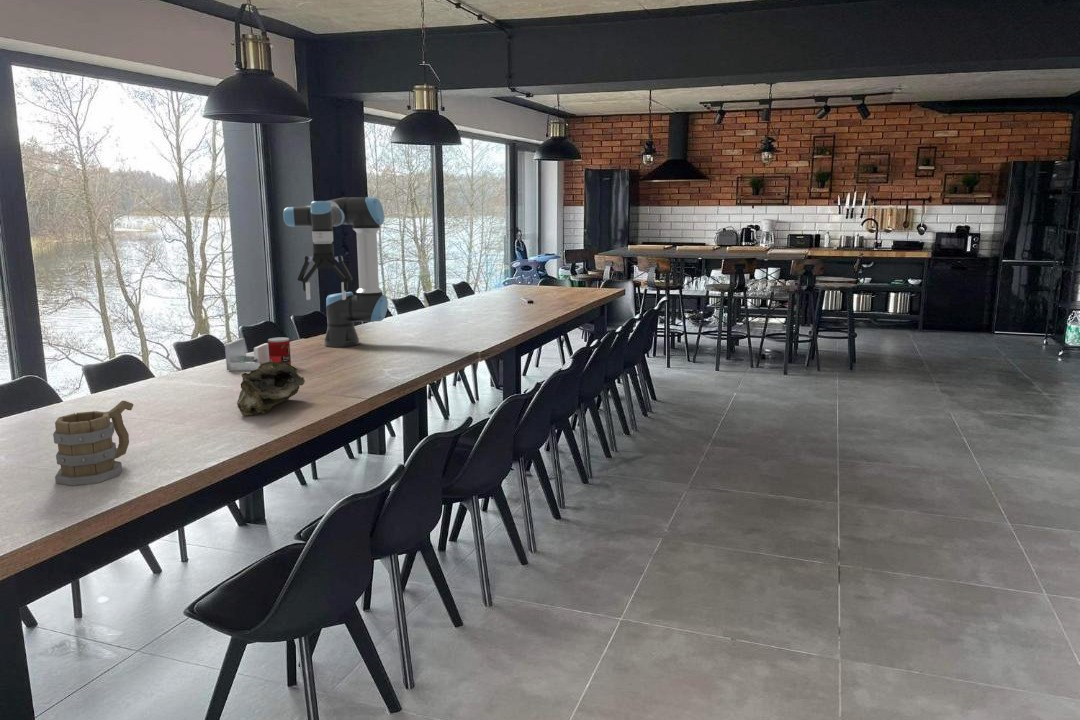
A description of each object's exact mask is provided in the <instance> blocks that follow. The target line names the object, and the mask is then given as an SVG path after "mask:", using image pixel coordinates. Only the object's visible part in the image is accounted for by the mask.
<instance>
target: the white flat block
mask: <svg viewBox="0 0 1080 720" xmlns="http://www.w3.org/2000/svg"><path fill="white" fill-rule="evenodd" d="M253 356H254V359H255V360H253V362H256V361H257V362H262V364H263V363H266V362H270V361H269V349H268V342H266V343H262V344H260V345H258V346H255V347H253Z"/></svg>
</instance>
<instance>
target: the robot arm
mask: <svg viewBox="0 0 1080 720" xmlns="http://www.w3.org/2000/svg"><path fill="white" fill-rule="evenodd" d="M282 213H283V214H282V215H283V216H282V217H283V222H284V224H285V225H286V226H287V227H292V228H293V227H294V228H296V227H298V228H301V227H303V228H304V227H305V228H306V227H311V235H312V242H313V244H312V253H313V254H312V256H309V255H306V256H305V257H304V263H303V265H302V268H301V270H300V272H299V274H298V276H297V281H298V282H299V281H300V282H302V289H303V291H304V292H305V296H306V297H305V298H306V301H310V300H311V296H312V295H311V283H310V281H309V280H310V279H311V278H312V276H313V275H314V273H315V272H316V270H317V269H331V270H333V272H334V273H335V274H336V276H338V277H339V279H340V280H341V281H342V282H341V283H340V284H341V292H339V293H332V294H328V295H327V297H326V299H325V300H326V302H325V304H326V305H325V308H326V310H325V311H326V320H327V329H326V334H325V337H324V343H323V344H324V346H326V347H331V348H344V347H345V348H347V347H353V346H358V345H360V339H359V336H358V333H357V330H356V327H355V322H372V323H374V322H382V321H383V320H384V319H385V317H386V315H387V311H388V305H389V304H388V297H387V296H386V295H385V294H383V289H382V288H380V286H379V285H380V284H379V283H380V281H379V280H380V279H379V262H378V257H379V256H378V240H377V239H378V238H377V237H378V236H377V235H378V232H379V230H380V229H381V226H382V225H383V224H384V222H385V214H384V208H383V205H382V202H381V200H379V199H378V198H377V197H372V196H371V197H369V196H366V197H364V196H361V197H339V198H334V199H329V200H318V201H317V200H313V201H311V202H310V205H303V206H287V207H285V208H284V209H283V212H282ZM341 225H350V226H352V230H353V231H354V232H355V233H356V248H357V249H356V251H357V252H356V253H357V271H358V273H357V274H358V288H357V289H356V291H355V295H354V293H353V292H352V291H348V290H349V282H351V281H352V280H353V276H352V274H351V273H350V271H349V269H348V266H347V265H346V263H345V262H344V257H343V255H337V256H335V247H334V243H333V242H334V230H333V227H339V226H341ZM336 261H337V263H338V264H339V266H340V268H341V270H342V271H343V272H342V271H341V270H340V268H338V266H337V265H336V264H335V262H336ZM311 262H314V264H313V265H312V267H311V269H310V270H309V271H308V272H307V270H308V268H309V265H310V264H311ZM306 273H307V274H306ZM343 273H344V274H343Z"/></svg>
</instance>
